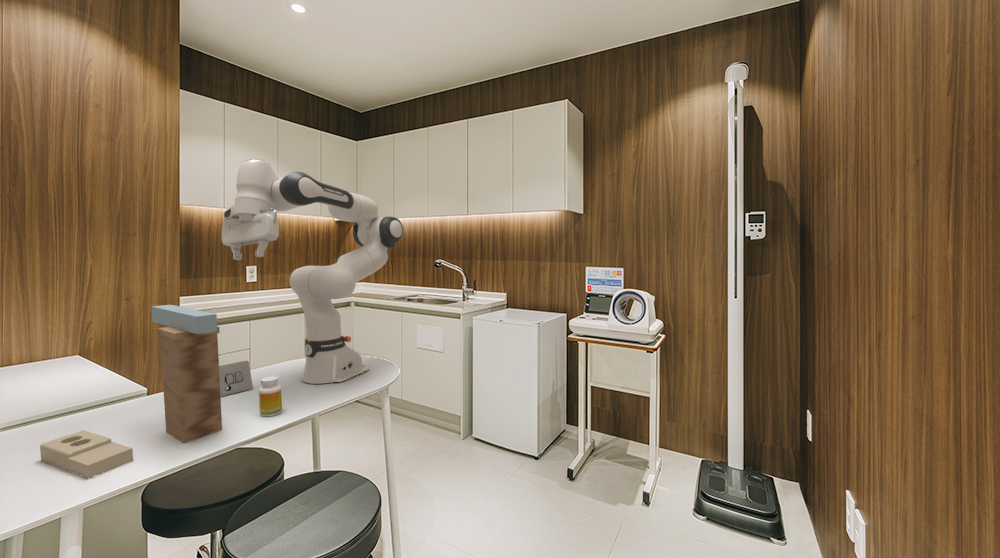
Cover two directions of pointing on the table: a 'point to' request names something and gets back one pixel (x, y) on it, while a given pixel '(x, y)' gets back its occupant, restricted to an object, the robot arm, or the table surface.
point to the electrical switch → (235, 378)
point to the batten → (185, 318)
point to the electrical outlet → (85, 453)
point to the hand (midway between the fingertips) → (248, 258)
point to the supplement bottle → (270, 397)
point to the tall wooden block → (190, 383)
